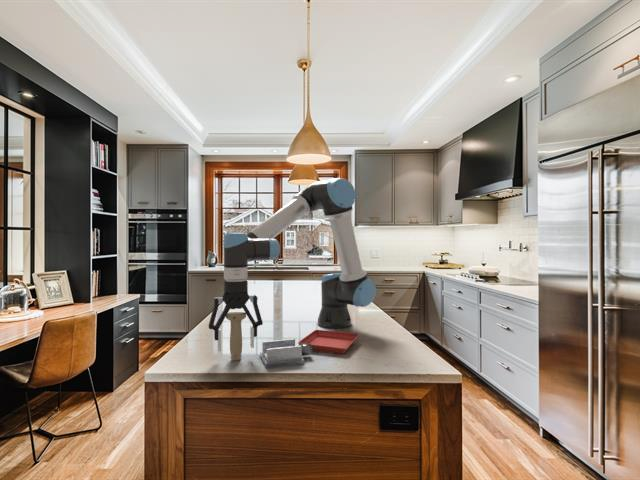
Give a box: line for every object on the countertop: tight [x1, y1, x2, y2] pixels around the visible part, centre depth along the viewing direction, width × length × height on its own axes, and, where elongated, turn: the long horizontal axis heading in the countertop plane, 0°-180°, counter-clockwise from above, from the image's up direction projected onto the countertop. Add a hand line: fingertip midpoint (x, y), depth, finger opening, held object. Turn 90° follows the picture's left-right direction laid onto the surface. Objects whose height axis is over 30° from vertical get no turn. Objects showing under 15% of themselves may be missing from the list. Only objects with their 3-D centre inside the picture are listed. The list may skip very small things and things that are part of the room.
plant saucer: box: [297, 329, 360, 355], centre depth 135 cm, size 18×18×3 cm
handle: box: [225, 311, 247, 362], centre depth 120 cm, size 5×6×15 cm
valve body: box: [259, 338, 313, 369], centre depth 121 cm, size 16×12×5 cm
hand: (236, 348), depth 120 cm, fingers open, 10 cm apart
